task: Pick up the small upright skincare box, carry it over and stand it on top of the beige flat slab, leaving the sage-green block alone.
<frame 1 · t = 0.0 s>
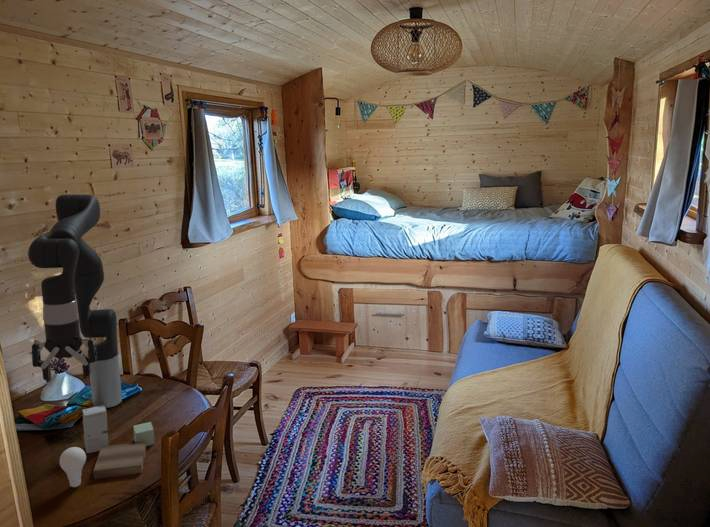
hand: (67, 379, 136), 29 cm above the table, fingers open, 8 cm apart
sage block: (144, 442, 161), on the table
lightbulb: (75, 487, 140), on the table
skincare box: (97, 448, 158), on the table
beige flat slab: (121, 465, 151), on the table
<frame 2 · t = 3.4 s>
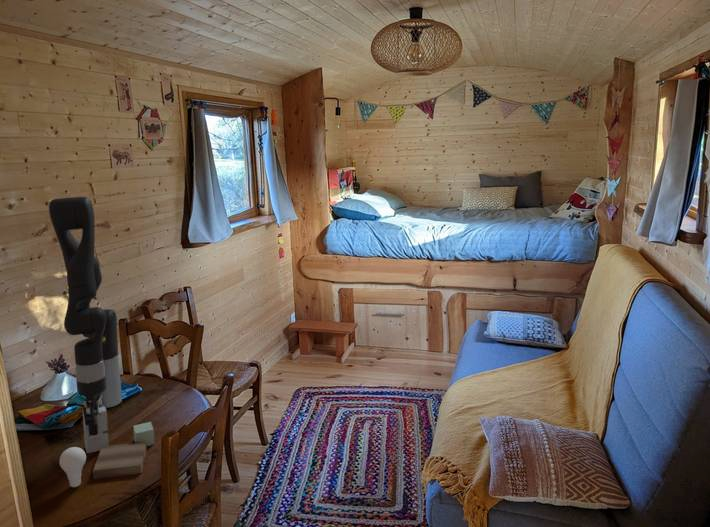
hand: (95, 429, 157), 6 cm above the table, fingers closed on skincare box, 5 cm apart
skincare box: (97, 448, 158), on the table, touching gripper
everything else where it was.
when the fingers open (9 cm above the table, at t = 9.3 s): skincare box drops 1 cm, resting on beige flat slab.
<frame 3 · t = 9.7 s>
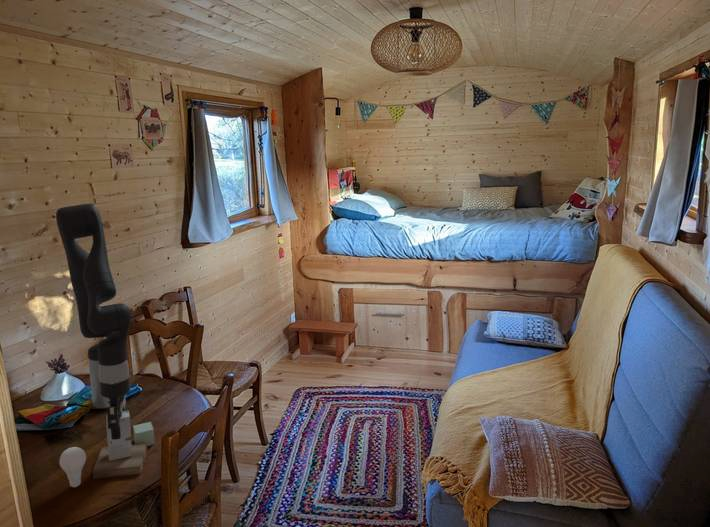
hand: (118, 430, 148), 10 cm above the table, fingers open, 8 cm apart
skincare box: (120, 455, 151), point 2 cm above the table, touching beige flat slab
beige flat slab: (121, 465, 151), on the table, touching skincare box
everything else where it was.
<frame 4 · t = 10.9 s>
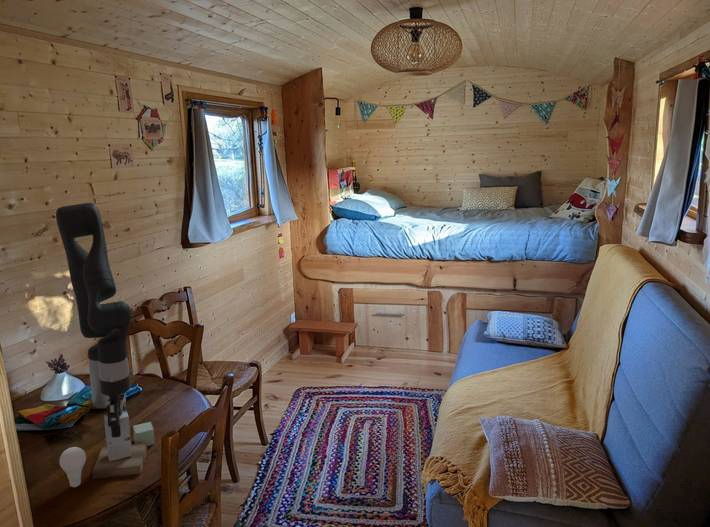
hand: (118, 428, 148), 11 cm above the table, fingers open, 8 cm apart
skincare box: (120, 455, 150), point 2 cm above the table
beige flat slab: (121, 465, 151), on the table
everything else where it was.
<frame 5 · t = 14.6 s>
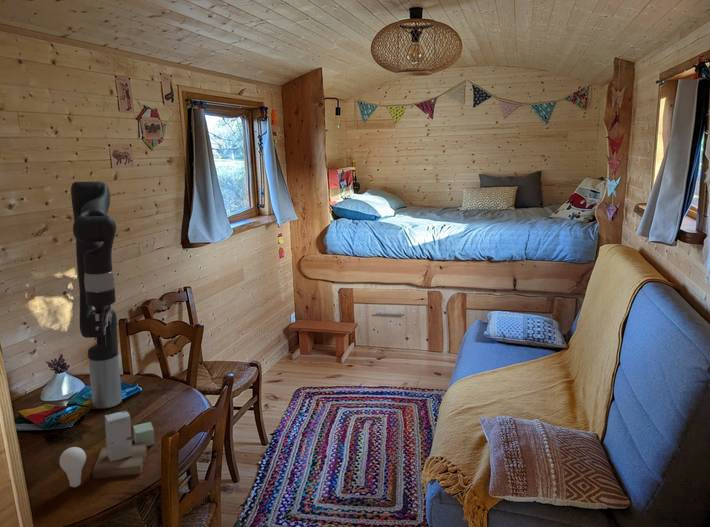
hand: (104, 341, 154), 32 cm above the table, fingers open, 8 cm apart
skincare box: (120, 456, 150), point 2 cm above the table, touching beige flat slab
beige flat slab: (121, 465, 151), on the table, touching skincare box
everything else where it was.
at the end: skincare box inside the target area on the beige flat slab (0.4 cm from its centre), point 2.8 cm above the beige flat slab's base; skincare box tilted 1°; the gripper is holding nothing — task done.
